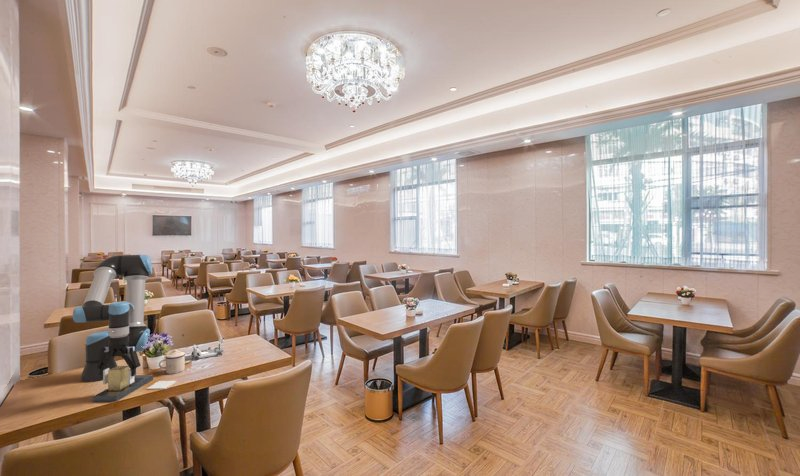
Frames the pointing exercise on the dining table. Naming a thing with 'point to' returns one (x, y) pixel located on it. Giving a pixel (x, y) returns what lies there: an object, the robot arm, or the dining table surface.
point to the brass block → (118, 378)
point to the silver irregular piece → (207, 353)
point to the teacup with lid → (174, 362)
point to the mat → (161, 385)
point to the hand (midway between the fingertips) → (118, 383)
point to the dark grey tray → (115, 396)
